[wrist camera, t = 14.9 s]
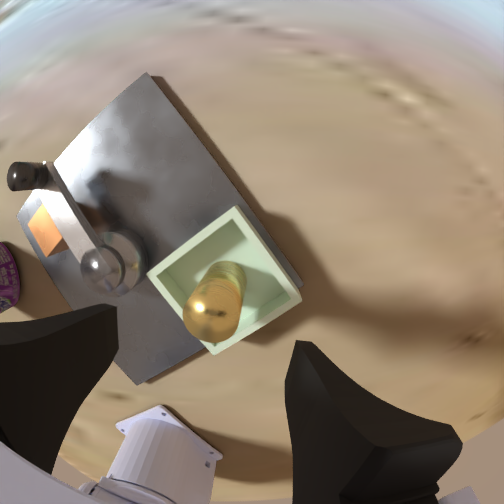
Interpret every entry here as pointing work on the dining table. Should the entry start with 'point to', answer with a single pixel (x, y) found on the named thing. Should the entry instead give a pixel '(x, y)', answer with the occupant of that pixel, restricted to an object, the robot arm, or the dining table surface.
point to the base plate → (138, 218)
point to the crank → (71, 224)
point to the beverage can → (8, 280)
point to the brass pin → (216, 303)
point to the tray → (240, 252)
